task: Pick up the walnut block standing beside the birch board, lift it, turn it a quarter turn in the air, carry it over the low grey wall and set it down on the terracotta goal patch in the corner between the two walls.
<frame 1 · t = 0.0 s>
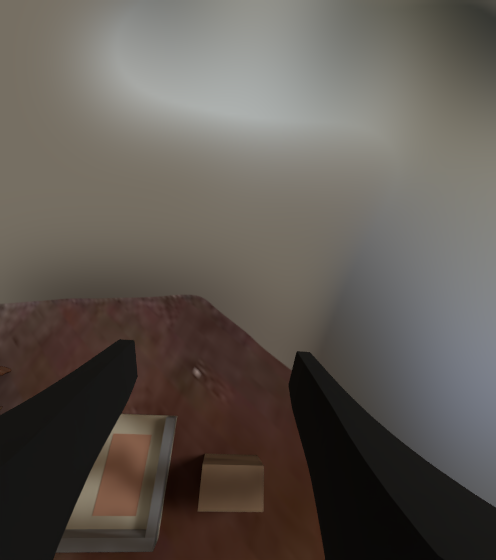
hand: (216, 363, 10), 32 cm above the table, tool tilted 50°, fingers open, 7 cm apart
walnut block: (230, 472, 34), on the table
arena: (114, 470, 33), on the table
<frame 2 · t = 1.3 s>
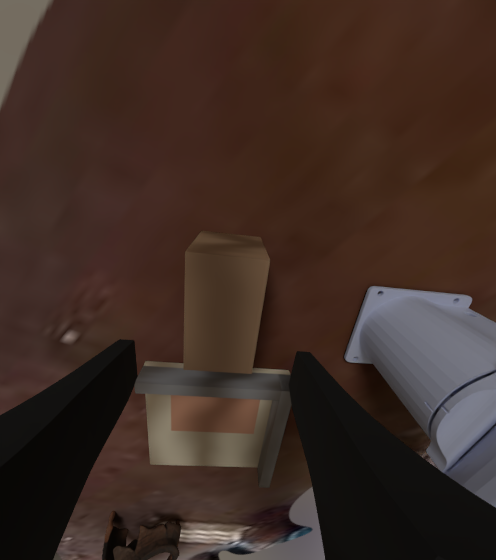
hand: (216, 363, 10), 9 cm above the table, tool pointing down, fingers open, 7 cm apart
walnut block: (227, 281, 19), on the table
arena: (214, 418, 25), on the table
pottery mug: (146, 518, 33), on the table
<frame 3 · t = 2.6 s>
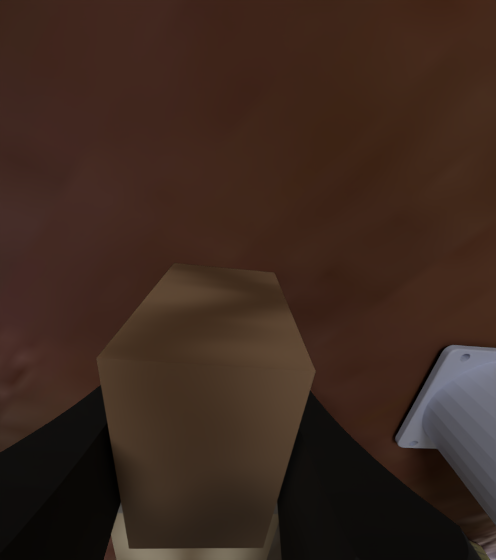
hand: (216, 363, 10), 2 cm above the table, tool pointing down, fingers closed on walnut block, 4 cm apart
walnut block: (219, 340, 12), on the table, touching gripper
box: (418, 554, 23), on the table
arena: (204, 512, 18), on the table
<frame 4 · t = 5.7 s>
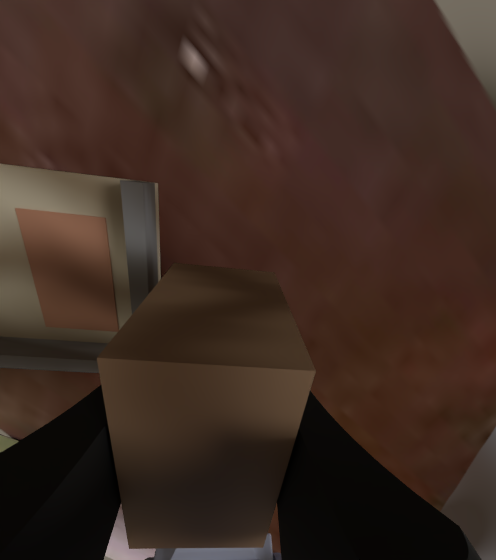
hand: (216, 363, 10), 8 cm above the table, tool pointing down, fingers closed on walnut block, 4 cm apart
walnut block: (219, 340, 12), point 7 cm above the table, touching gripper
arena: (57, 271, 17), on the table
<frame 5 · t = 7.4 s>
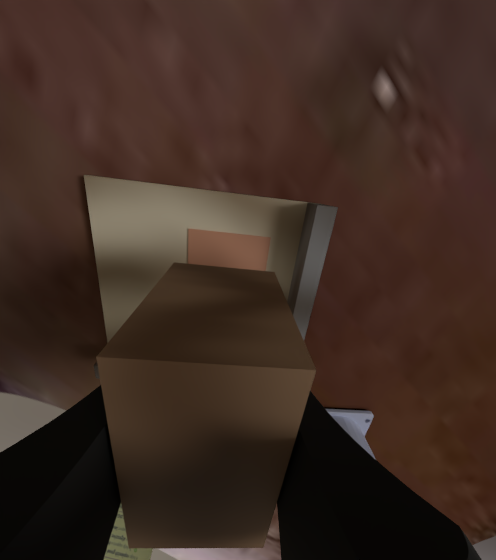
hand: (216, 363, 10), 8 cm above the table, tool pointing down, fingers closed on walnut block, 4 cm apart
walnut block: (219, 340, 12), point 6 cm above the table, touching gripper
box: (119, 459, 25), on the table
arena: (205, 287, 17), on the table
when the fingers open (3 cm above the table, at t = 8.8 s): walnut block stays where it is, resting on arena.
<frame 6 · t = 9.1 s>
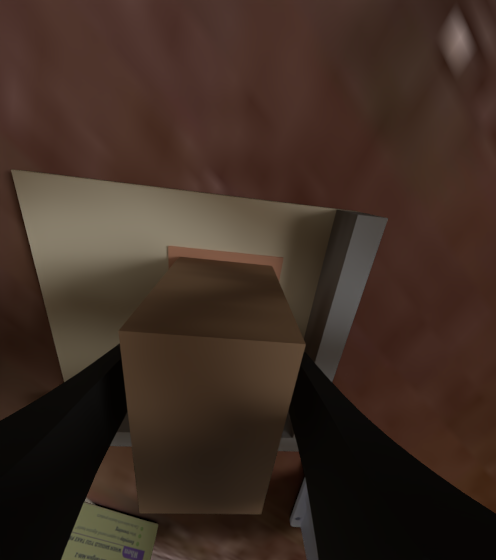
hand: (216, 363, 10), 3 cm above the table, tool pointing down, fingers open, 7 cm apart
walnut block: (220, 330, 13), point 1 cm above the table, touching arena
box: (95, 516, 21), on the table
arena: (195, 321, 13), on the table
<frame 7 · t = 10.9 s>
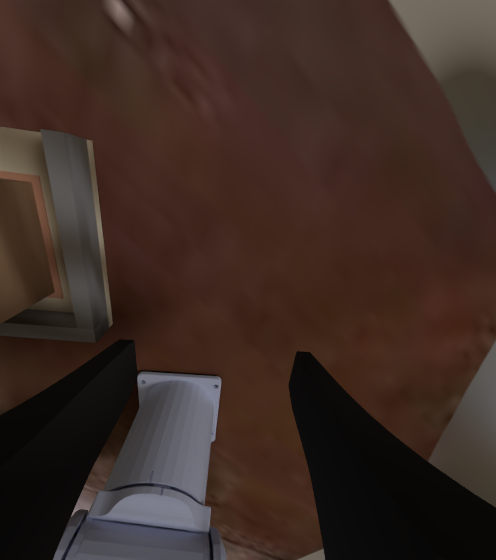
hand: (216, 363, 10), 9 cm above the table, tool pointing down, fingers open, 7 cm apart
walnut block: (10, 238, 16), point 1 cm above the table, touching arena
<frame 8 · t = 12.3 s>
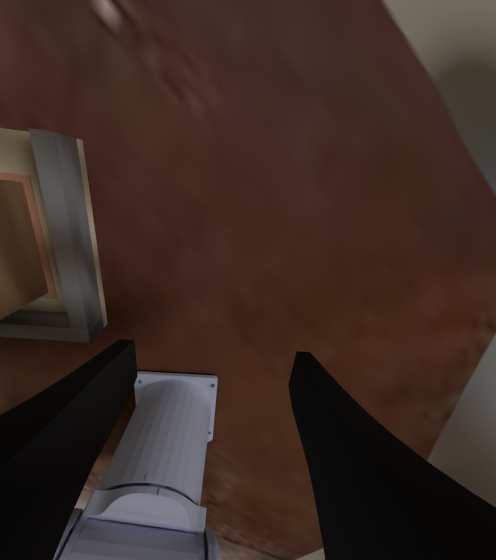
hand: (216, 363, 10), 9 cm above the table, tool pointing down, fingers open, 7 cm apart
walnut block: (2, 238, 16), point 1 cm above the table, touching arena
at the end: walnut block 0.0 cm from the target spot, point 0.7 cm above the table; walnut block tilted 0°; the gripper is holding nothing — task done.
